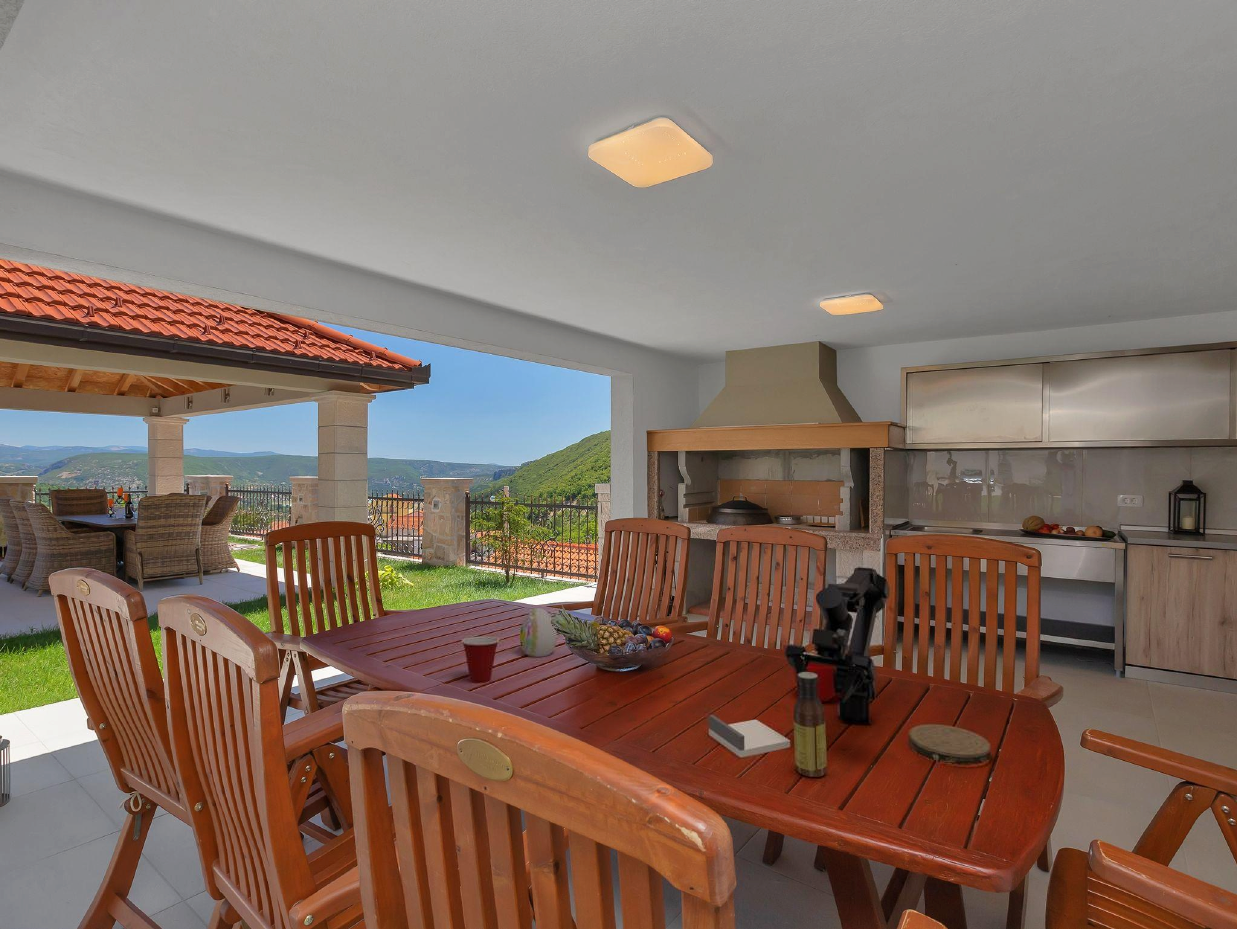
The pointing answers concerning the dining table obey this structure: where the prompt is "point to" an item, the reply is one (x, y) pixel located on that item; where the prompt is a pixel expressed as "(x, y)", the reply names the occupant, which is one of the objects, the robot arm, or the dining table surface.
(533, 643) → the decorative egg
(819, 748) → the sauce bottle
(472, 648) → the plastic cup
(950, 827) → the dining table surface
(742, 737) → the display stand
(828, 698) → the ceramic cup
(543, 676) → the dining table surface
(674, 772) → the dining table surface
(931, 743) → the grey-brown flat disc
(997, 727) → the dining table surface
